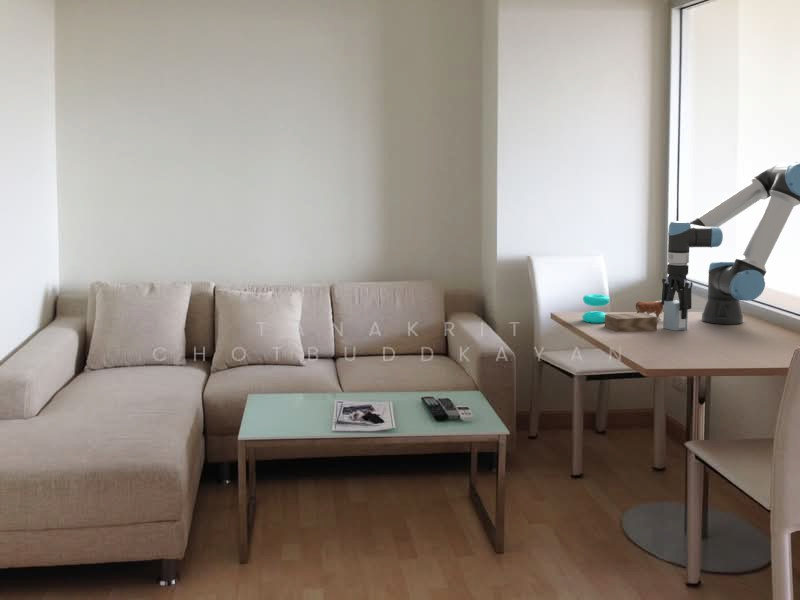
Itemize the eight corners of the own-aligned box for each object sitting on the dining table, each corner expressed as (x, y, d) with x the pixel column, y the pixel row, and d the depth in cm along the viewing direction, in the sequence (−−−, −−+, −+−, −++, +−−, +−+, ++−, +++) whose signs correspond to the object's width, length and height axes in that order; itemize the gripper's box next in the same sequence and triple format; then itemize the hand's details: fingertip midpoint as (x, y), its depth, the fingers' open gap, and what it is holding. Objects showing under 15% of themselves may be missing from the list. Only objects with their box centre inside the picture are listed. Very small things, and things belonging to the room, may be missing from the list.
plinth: (643, 325, 362) (643, 312, 362) (656, 330, 353) (657, 317, 352) (604, 327, 358) (604, 314, 358) (616, 332, 349) (617, 319, 348)
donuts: (601, 298, 361) (578, 295, 367) (600, 324, 362) (577, 321, 369) (614, 295, 368) (591, 293, 375) (613, 321, 370) (590, 318, 376)
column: (675, 326, 358) (676, 300, 357) (687, 329, 353) (688, 302, 352) (663, 327, 356) (664, 301, 354) (674, 330, 351) (675, 303, 349)
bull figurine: (671, 321, 369) (672, 300, 368) (635, 320, 372) (636, 299, 370) (669, 319, 374) (670, 299, 372) (634, 318, 376) (635, 298, 375)
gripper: (652, 261, 358) (649, 322, 361) (688, 267, 341) (685, 331, 344) (668, 260, 361) (665, 321, 364) (704, 266, 344) (701, 329, 347)
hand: (675, 326), depth 354 cm, fingers closed on column, 6 cm apart
